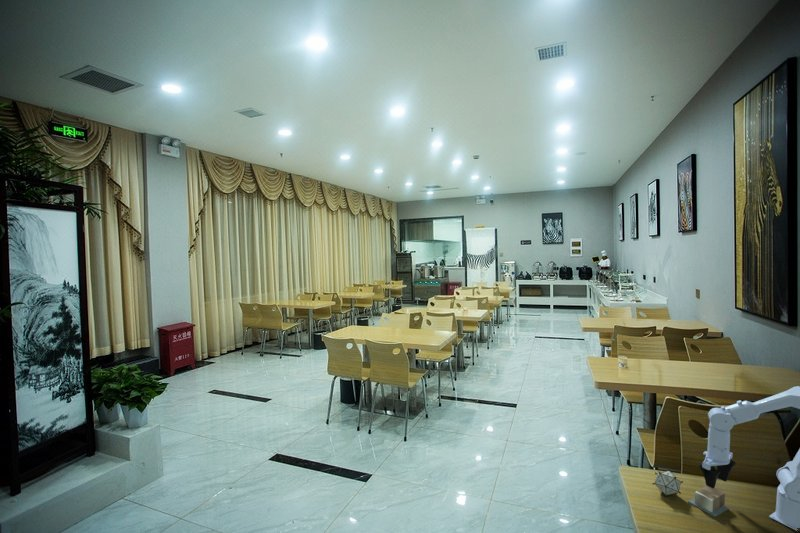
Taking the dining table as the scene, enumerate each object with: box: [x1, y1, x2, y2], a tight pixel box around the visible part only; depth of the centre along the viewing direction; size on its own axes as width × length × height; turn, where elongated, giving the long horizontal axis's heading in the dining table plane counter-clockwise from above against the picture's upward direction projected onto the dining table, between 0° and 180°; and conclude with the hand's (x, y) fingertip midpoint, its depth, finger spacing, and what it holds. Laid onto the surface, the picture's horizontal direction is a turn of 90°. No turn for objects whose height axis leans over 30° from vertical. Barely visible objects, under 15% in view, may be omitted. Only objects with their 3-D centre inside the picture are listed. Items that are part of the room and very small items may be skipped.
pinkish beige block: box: [694, 485, 726, 512], centre depth 134 cm, size 5×4×8 cm
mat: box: [688, 497, 729, 518], centre depth 134 cm, size 8×8×1 cm
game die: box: [651, 467, 684, 499], centre depth 140 cm, size 9×8×10 cm
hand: (716, 483), depth 135 cm, fingers open, 7 cm apart
